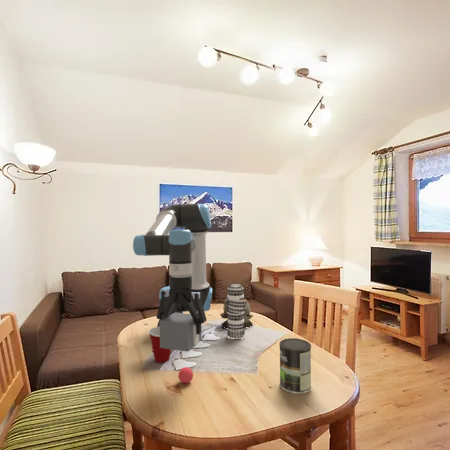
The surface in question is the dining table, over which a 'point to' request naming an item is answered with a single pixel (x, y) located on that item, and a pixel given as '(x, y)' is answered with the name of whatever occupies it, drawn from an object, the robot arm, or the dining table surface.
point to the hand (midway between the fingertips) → (181, 341)
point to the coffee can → (295, 365)
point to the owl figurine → (246, 314)
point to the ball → (185, 375)
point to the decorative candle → (235, 311)
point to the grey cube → (177, 332)
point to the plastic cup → (158, 346)
